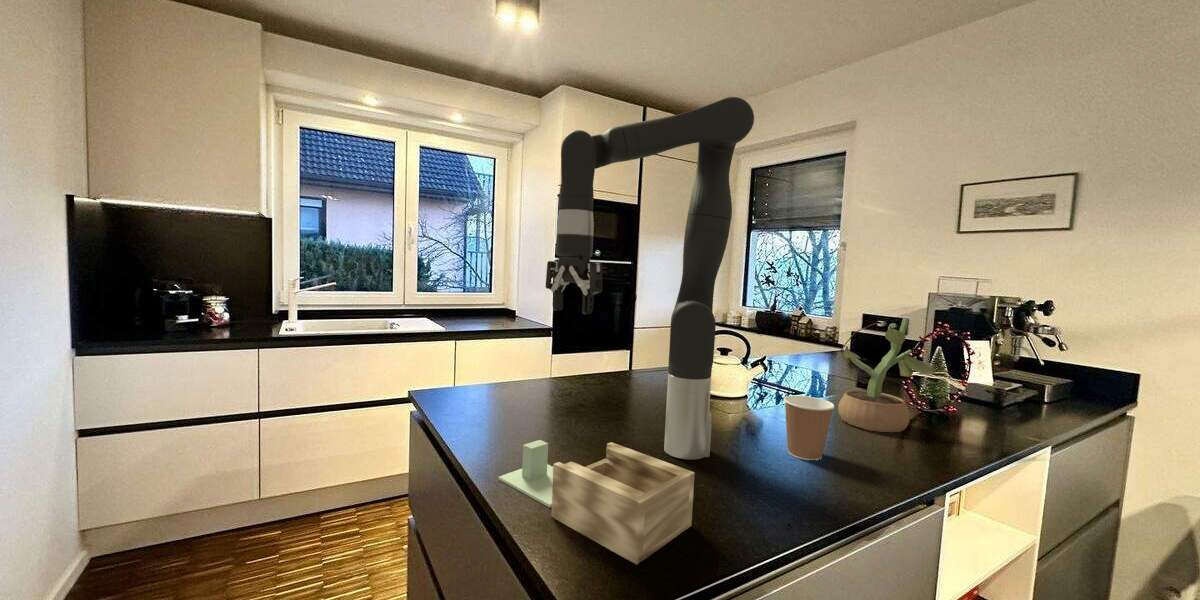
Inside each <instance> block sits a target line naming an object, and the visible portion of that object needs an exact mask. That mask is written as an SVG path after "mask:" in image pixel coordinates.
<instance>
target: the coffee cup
mask: <svg viewBox="0 0 1200 600" xmlns="http://www.w3.org/2000/svg"><path fill="white" fill-rule="evenodd" d="M783 402H784V405H785V406H784V407H785V425H786V428H785V429H786V444H787V445H786V446H787V451H788V454H789V455H791V457H794V458H797V459H800V460H803V461H809V460H816V461H819V459H820V460H821V459H822V458H823V454H824V453H825V448H826V443H827V438H828V432H829V428H830V424H831V419H832V415H833V409H834V408H835V404H834V403H833V402H831V401H828V400H826V399H824V398H823V399H822V398H819V397H813V396H806V395H787V396H785V397H784V398H783Z"/></svg>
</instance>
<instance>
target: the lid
mask: <svg viewBox="0 0 1200 600" xmlns="http://www.w3.org/2000/svg"><path fill="white" fill-rule="evenodd" d="M548 451H549V443H548V442H546V441H544V440H541V439H539V440H538V439H537V440H534V441H531V442H527V443H525V444H523V445H522V464H521V465H522V466H521V468H519V469H516V470H514V471H511V472H508V473H505V474H503V475H500V476H498V481H500V482H502V483H504V484H506V485H507V486H509V487H511V488H513V489H514V490H517V491H518V492H521V493H522V494H524V495H526V496H527V497H529V498H531V499H533V500H535V501H536V502H537V503H540V504H542V505H544V506H545V507H548V509H549V508H552V487H553V465H550V464H549V463H548V461H549V460H548V459H549V458H548V454H549V452H548Z"/></svg>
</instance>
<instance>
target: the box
mask: <svg viewBox="0 0 1200 600" xmlns="http://www.w3.org/2000/svg"><path fill="white" fill-rule="evenodd" d="M605 454H606V455H605V457H606V458H603V459H601V460H597V461H596V462H593V463H591V464H589V465H586V466H583V465H581V464H579V463H576V462H574V461H569V462H566V463H562V462H560V461H557V462H555V463H553V464H552V466H553V487H552V507H551V516H550V517H551V518H553V520H557V521H558V522H560V523H562V524H563V525H565V526H567V527H569V528H571V529H572V530H574V531H576V532H577V533H579V534H581V535H582V536H584V537H587V538H588V539H590V540H591V541H593V542H595V543H597V544H599V545H601V546H602V547H604V548H606V549H607V550H609V551H611V552H613V553H615V554H617V555H618V556H620V557H622V558H623V559H626V560H627V561H629V562H631V563H633V564H635V565H639V564H640V563H642V562H643V561H645V560H646V559H648V558H649V557H650V556H651V555H653V554H654V553H656V552H657V551H658V550H659V549H661V548H663V547H664V546H666V545H667V544H668V543H670V542H671V541H673V539H675V538H677V537H678V536H680V535H681V534H682V533H684V532H685V531H686V530H688V529H690V527H692V524H693V522H692V521H693V505H694V504H693V503H694V491H695V490H694V489H695V488H694V487H695V475H696V472H694V471H692V470H689V469H686V468H683V467H681V466H678V465H675V464H672V463H670V462H667V461H664V460H661V459H658V458H656V457H653V456H650V455H648V454H645V453H642V452H640V451H636V450H634V449H632V448H628V447H626V446H623V445H620V444H619V443H618V444H617V443H614V442H608V443H606V448H605Z"/></svg>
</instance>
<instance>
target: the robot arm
mask: <svg viewBox="0 0 1200 600" xmlns="http://www.w3.org/2000/svg"><path fill="white" fill-rule="evenodd" d="M754 123H755V113H754V110H753V108H752V106H751V104H750V103H749V102H748V101H746V100H745V99H743V98H741V97H737V96H727V97H724V98H721V99H720V100H718V101H717V100H716V101H715V102H712V103H710V104H706V105H704V106H702V107H698V108H695V109H692V110H689V111H685V112H682V113H678V114H674V115H670V116H665V117H660V118H655V119H649V120H644V121H643V120H642V121H637V122H631V123H627V124H622V125H617V126H614V127H610V128H608V129H607V130H606V131H604V132H602V133H599V134H595V135H591V134H589V133H588V132H587V131H585V130H581V129H576V130H572V131H571V132H569V133H567V134H566V136H564V138H563V140H562V142H561V146H560V169H561V170H560V177H561V178H560V179H561V180H560V181H561V182H560V187H559V196H558V197H559V198H558V214H557V215H558V216H557V222H556V242H555V243H556V244H555V246H556V247H555V254H556V256H557V257H558V260H557V261H556V260H549V261H547V263H546V264H547V265H546V275H545V276H546V277H545V288H546V289H548V290H550V291H551V292H552V309H553V310H554V311H562V310H563V309H564V292H563V291H564V290H565V288H566V286H567V285H569V284H570V283H571V284H576V285H577V286H578V287H579V288H580V290H581V292H582V302H581V303H582V305H581V313H582V314H583V315H591V314H592V313H593V311H594V302H595V299H594V298H595V295H596V294H600V293H602V292H603V264H602V262H591V261H590V260H591V257H593V252H594V251H593V249H594V248H593V246H594V226H595V225H594V224H595V223H594V199H595V198H594V196H595V195H594V179H595V171H596V170H597V169H599V168H602V167H606V166H609V165H612V164H615V163H622V162H628V161H629V162H630V161H634V160H639V159H643V158H647V157H650V156H651V157H652V156H654V155H657V154H661V153H664V152H667V151H670V150H674V149H676V148H679V147H682V146H683V147H684V146H687V145H691V144H692V145H693V144H697V146H698V147H697V161H696V162H697V163H696V171H695V177H694V181H693V184H692V189H691V196H690V200H689V206H688V211H687V216H686V222H685V223H686V224H685V228H684V237H683V238H684V239H683V248H682V249H683V253H682V275H681V282H680V286H679V290H678V294H677V298H676V301H675V304H674V308H673V311H672V313H671V318H670V326H669V327H670V330H669V331H670V332H669V349H668V350H669V351H668V365H667V366H668V367H667V368H668V371H667V372H668V373H667V374H668V375H667V386H666V387H667V390H666V409H665V422H664V423H665V427H664V440H663V442H664V445H663V446H664V447H663V449H664V452H665V453H666V454H668V456H671V457H674V458H677V459H682V460H701V459H703V458H709V457H710V455H711V454H710V452H711V439H712V438H711V437H712V419H713V414H712V412H711V411H710V405H711V403H710V402H711V400H710V399H711V388H712V386H711V385H712V384H711V383H712V374H713V373H712V372H713V364H714V357H715V355H714V354H715V340H716V325H717V324H716V319H715V315H714V313H713V309H714V308H713V307H714V295H715V285H716V279H717V276H718V272H719V270H720V267H721V265H722V261H723V259H724V255H725V251H726V248H727V244H728V239H729V236H730V235H729V234H730V230H731V224H732V223H731V222H732V216H733V205H732V204H733V202H732V193H731V186H730V171H731V166H732V160H733V157H734V156H733V155H734V152H735V148H736V145H737V144H738V143H740V142H741V141H742V140H744V139H745V138H746V137H747V136H748V135H749V133H750V132H751V130H752V129H753V127H754Z"/></svg>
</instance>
